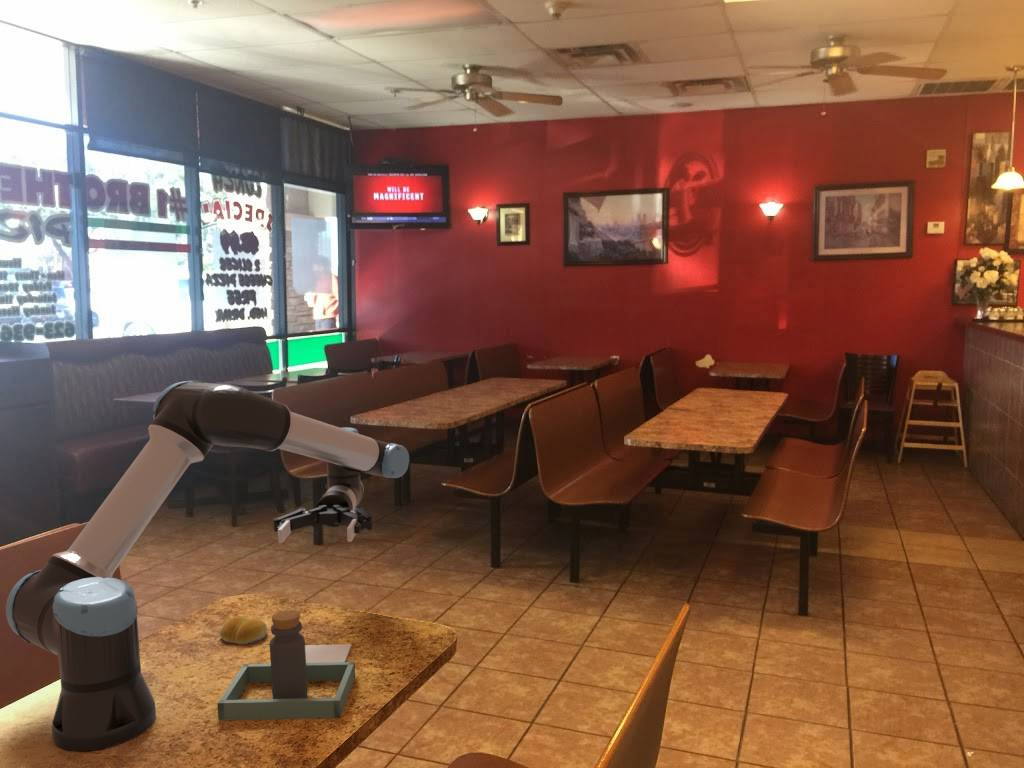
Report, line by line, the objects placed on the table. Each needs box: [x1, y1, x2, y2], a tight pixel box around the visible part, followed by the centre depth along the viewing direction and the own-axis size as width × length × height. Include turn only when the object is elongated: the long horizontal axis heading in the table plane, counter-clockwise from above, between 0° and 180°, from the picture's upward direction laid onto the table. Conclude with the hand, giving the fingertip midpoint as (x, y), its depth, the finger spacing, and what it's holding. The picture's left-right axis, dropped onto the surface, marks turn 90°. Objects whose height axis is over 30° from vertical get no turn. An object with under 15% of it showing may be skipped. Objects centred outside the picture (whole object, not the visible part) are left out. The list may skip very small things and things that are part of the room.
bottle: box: [269, 609, 308, 699], centre depth 143 cm, size 6×6×15 cm
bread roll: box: [219, 615, 268, 645], centre depth 170 cm, size 8×9×4 cm
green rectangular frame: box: [217, 661, 356, 721], centre depth 144 cm, size 20×14×3 cm
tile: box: [268, 643, 353, 664], centre depth 159 cm, size 14×10×1 cm
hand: (314, 535), depth 164 cm, fingers open, 13 cm apart
